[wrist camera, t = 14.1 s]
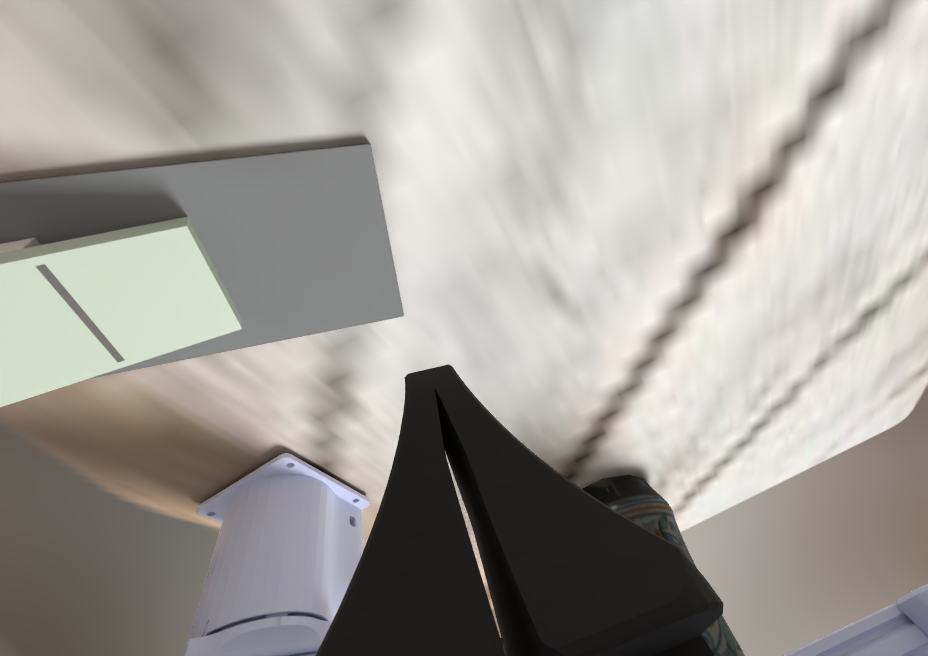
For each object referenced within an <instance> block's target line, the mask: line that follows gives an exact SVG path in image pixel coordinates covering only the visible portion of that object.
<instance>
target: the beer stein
mask: <svg viewBox="0 0 928 656" xmlns="http://www.w3.org/2000/svg"><path fill="white" fill-rule="evenodd" d="M582 490H584V491H585V492H587V493H588V494H590V495H591V496H593V497H594V498H596V499H597V500H598V501H600V502H602V503H603V504H605V505H606V506H608V507H610V508H611V509H613V510H614V511H616V512H618V513H619V514H621V515H622V516H624V517H626V518H627V519H629V520H631V521H633V522H634V523H636V524H638V525H639V526H641V527H643V528H645V529H646V530H648V531H650V532H652V533H653V534H655V535H657V536H659V537H661V538H662V539H664V540H666V541H668V542H670V543H671V544H673V545H675V546H677V547H678V548H679V549H680V550H681V551H682V552H683V553H684V555H685V556H686V557H687V558H688V559H689V560H690V561H691V563H692V564H693V565H694V566H695V564H694V562H693V560H692V558H691V556H690V553H689V552H688V549H687V547H686V545H685V543H684V541H683V539H682V536H681V534H680V531H679V529H678V526H677V524H676V521H675V518H674V514H673V511H672V509H671V507H670V506H669V504H668V503H667V502H666V501H665V500H664V499H663V498H662V497H661V496H660V495H659V494H658V493H657V492H656V491H655V490H653V489H652V488H651V487H650V485H649V484H648V483H647V482H646V481H645V480H644V479H642V478H638V477H635V476H631V475H625V476H619V477H612V478H606V479H602V480H600V481H598V482H596V483H594V484H592V485H590V486H588V487H586V488H584V489H582ZM695 567H696V566H695ZM701 635H702V636H703V638H704V639H705V641H706V642H707V644H708V646H709V647H710V649H711V650H712V652H713V653H714V656H745V655H744V654H743V652H742V649H741V648H740V646H739V644H738V642H737V641H736V639H735V637H734V636H733V634H732V632H731V630H730V628H729V627H728V625H727V623H726V621H725V619H724V618H723V616H722V615H721V616H720V617H719V618H718V619H717V620H716V621H715V622H714V623H713V624H712V625H711V626H710V627H709V628H707V629H706V630H705V631H704V632H703V633H702V634H701Z"/></svg>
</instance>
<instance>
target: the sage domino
mask: <svg viewBox="0 0 928 656" xmlns="http://www.w3.org/2000/svg"><path fill="white" fill-rule="evenodd" d="M240 329H242V325H241V319H240V314H239V312H238V310H237V308H236V306H235V304H234V303H233V301H232V299H231V297H230V295H229V293H228V291H227V289H226V287H225V286H224V284H223V282H222V280H221V278H220V276H219V274H218V272H217V270H216V269H215V267H214V265H213V263H212V261H211V259H210V257H209V255H208V253H207V251H206V250H205V248H204V246H203V244H202V242H201V240H200V238H199V236H198V234H197V233H196V231H195V229H194V227H193V225H192V223H191V221H190V219H189V217H188V216H187V217H182V218H177V219H172V220H167V221H162V222H157V223H152V224H147V225H142V226H136V227H131V228H126V229H121V230H116V231H111V232H106V233H101V234H96V235H90V236H85V237H80V238H75V239H70V240H65V241H60V242H55V243H50V244H44V245H39V246H34V247H29V248H24V249H19V250H14V251H9V252H4V253H0V407H3V406H6V405H9V404H12V403H15V402H18V401H21V400H24V399H28V398H31V397H34V396H37V395H40V394H43V393H46V392H49V391H52V390H55V389H58V388H61V387H64V386H68V385H71V384H74V383H77V382H80V381H83V380H86V379H89V378H92V377H95V376H98V375H101V374H105V373H108V372H111V371H114V370H117V369H120V368H123V367H126V366H129V365H132V364H135V363H138V362H141V361H145V360H148V359H151V358H154V357H157V356H160V355H163V354H166V353H169V352H172V351H175V350H178V349H181V348H185V347H188V346H191V345H194V344H197V343H200V342H203V341H206V340H209V339H212V338H215V337H218V336H222V335H225V334H228V333H231V332H234V331H237V330H240Z"/></svg>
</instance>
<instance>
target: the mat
mask: <svg viewBox="0 0 928 656" xmlns="http://www.w3.org/2000/svg"><path fill="white" fill-rule="evenodd" d="M187 216H188V217H189V219H190V221H191V223H192V225H193V227H194V229H195V231H196V233H197V234H198V236H199V238H200V240H201V242H202V244H203V246H204V248H205V250H206V251H207V253H208V255H209V257H210V259H211V261H212V263H213V265H214V267H215V269H216V270H217V272H218V274H219V276H220V278H221V280H222V282H223V284H224V286H225V287H226V289H227V291H228V293H229V295H230V297H231V299H232V301H233V303H234V304H235V306H236V308H237V310H238V312H239V314H240V319H241V325H242V329H240V330H237V331H234V332H231V333H228V334H225V335H222V336H218V337H215V338H212V339H209V340H206V341H203V342H200V343H197V344H194V345H191V346H188V347H185V348H181V349H178V350H175V351H172V352H169V353H166V354H163V355H160V356H157V357H154V358H151V359H148V360H145V361H141V362H138V363H135V364H132V365H129V366H126V367H123V368H120V369H117V370H114V371H111V372H108V373H105V374H101V375H98V376H95V377H100V376H105V375H110V374H115V373H120V372H125V371H130V370H135V369H140V368H145V367H150V366H155V365H160V364H165V363H170V362H175V361H180V360H185V359H190V358H195V357H200V356H206V355H211V354H216V353H221V352H226V351H231V350H236V349H241V348H246V347H251V346H256V345H261V344H266V343H271V342H276V341H281V340H286V339H291V338H296V337H301V336H306V335H311V334H316V333H321V332H327V331H332V330H337V329H342V328H347V327H352V326H357V325H362V324H367V323H372V322H377V321H382V320H387V319H392V318H397V317H402V316H404V313H403V308H402V303H401V298H400V293H399V287H398V282H397V277H396V272H395V267H394V262H393V257H392V252H391V246H390V241H389V236H388V231H387V226H386V221H385V216H384V211H383V205H382V200H381V195H380V190H379V185H378V180H377V175H376V170H375V164H374V159H373V154H372V149H371V144H370V143H368V144H359V145H349V146H340V147H330V148H321V149H311V150H302V151H293V152H283V153H274V154H264V155H255V156H245V157H236V158H227V159H217V160H208V161H198V162H189V163H179V164H170V165H160V166H151V167H142V168H132V169H123V170H113V171H104V172H94V173H85V174H76V175H66V176H57V177H47V178H38V179H28V180H19V181H9V182H0V244H3V243H8V242H13V241H19V240H24V239H30V238H36V239H37V240H38V241H39V243H40V244H41V245H44V244H50V243H55V242H60V241H65V240H70V239H75V238H80V237H85V236H90V235H96V234H101V233H106V232H111V231H116V230H121V229H126V228H131V227H136V226H142V225H147V224H152V223H157V222H162V221H167V220H172V219H177V218H182V217H187ZM95 377H92V378H95ZM89 379H90V378H89Z"/></svg>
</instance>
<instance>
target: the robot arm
mask: <svg viewBox="0 0 928 656" xmlns="http://www.w3.org/2000/svg"><path fill="white" fill-rule="evenodd" d="M445 452H446V454H447V457H448V460H449V463H450V466H451V468H452V471H453V474H454V477H455V479H456V482H457V485H458V488H459V491H460V493H461V496H462V499H463V502H464V504H465V507H466V510H467V513H468V515H469V518H470V522H471V525H472V528H473V531H474V534H475V538H476V542H477V546H478V549H479V553H480V557H481V561H482V564H483V568H484V572H485V576H486V579H487V583H488V587H489V591H490V595H491V599H492V602H493V606H494V610H495V614H496V618H497V622H498V626H499V629H500V633H501V637H502V641H503V645H504V648H503V645H502V642H501V639H500V636H499V633H498V629H497V626H496V623H495V620H494V616H493V613H492V610H491V607H490V604H489V600H488V597H487V594H486V591H485V587H484V584H483V581H482V578H481V575H480V571H479V568H478V565H477V561H476V558H475V555H474V551H473V548H472V545H471V541H470V538H469V535H468V531H467V528H466V525H465V521H464V518H463V514H462V511H461V508H460V504H459V501H458V497H457V494H456V490H455V487H454V483H453V480H452V476H451V473H450V469H449V466H448V462H447V459H446V454H445ZM369 504H370V499H369V498H367V497H366V496H364V495H362V494H360V493H359V492H357V491H355V490H353V489H351V488H350V487H348V486H346V485H344V484H343V483H341V482H339V481H337V480H336V479H334V478H332V477H330V476H329V475H327V474H325V473H323V472H321V471H320V470H318V469H316V468H314V467H313V466H311V465H309V464H307V463H306V462H304V461H302V460H300V459H298V458H297V457H295V456H293V455H291V454H289V453H283V454H281V455H279V456H277V457H276V458H274V459H272V460H271V461H269V462H268V463H266V464H264V465H263V466H261V467H260V468H258V469H256V470H255V471H253V472H251V473H250V474H248V475H247V476H245V477H243V478H242V479H240V480H239V481H237V482H235V483H234V484H232V485H230V486H229V487H227V488H226V489H224V490H222V491H221V492H219V493H218V494H216V495H214V496H213V497H211V498H210V499H208V500H206V501H205V502H203V503H201V504H200V505H199V506H198V508H197V511H196V512H197V514H199V515H201V516H204V517H207V518H210V519H213V520H216V521H218V522H221V523H222V526H221V529H220V533H219V536H218V540H217V543H216V547H215V550H214V553H213V557H212V561H211V564H210V567H209V571H208V574H207V577H206V581H205V585H204V588H203V591H202V595H201V598H200V602H199V605H198V609H197V612H196V615H195V619H194V622H193V626H192V629H191V633H190V636H189V640H188V643H187V645H186V648H185V650H184V653H183V655H182V656H714V653H713V652H712V650H711V649H710V647H709V646H708V644H707V642H706V641H705V639H704V638H703V636H702V635H701V634H702V633H703V632H704V631H705V630H706V629H707V628H709V627H710V626H711V625H712V624H713V623H714V622H715V621H716V620H717V619H718V618H719V617H720V616H721V615H722V614H723V602H722V601H721V599H720V598H719V597H718V595H717V594H716V593H715V591H714V590H713V589H712V587H711V586H710V584H709V583H708V582H707V580H706V579H705V578H704V577H703V575H702V574H701V573H700V572H699V571H698V569H697V568H696V567H695V566H694V565H693V564H692V563H691V561H690V560H689V559H688V558H687V557H686V556H685V555H684V553H683V552H682V551H681V550H680V549H679V548H678V547H677V546H675V545H673V544H671V543H670V542H668V541H666V540H664V539H662V538H661V537H659V536H657V535H655V534H653V533H652V532H650V531H648V530H646V529H645V528H643V527H641V526H639V525H638V524H636V523H634V522H633V521H631V520H629V519H627V518H626V517H624V516H622V515H621V514H619V513H618V512H616V511H614V510H613V509H611V508H610V507H608V506H606V505H605V504H603V503H602V502H600V501H598V500H597V499H596V498H594V497H593V496H591V495H590V494H588V493H587V492H585V491H584V490H582V489H581V488H580V487H578V486H577V485H575V484H574V483H572V482H571V481H569V480H568V479H566V478H565V477H564V476H562V475H561V474H559V473H558V472H557V471H556V470H554V469H553V468H552V467H550V466H549V465H548V464H546V463H545V462H544V461H543V460H541V459H540V458H539V457H538V456H536V455H535V454H534V453H533V452H532V451H530V450H529V449H528V448H527V447H526V446H524V445H523V444H522V443H521V442H520V441H519V440H518V439H517V438H515V437H514V436H513V435H512V434H511V433H510V432H509V431H508V430H507V429H506V428H505V427H504V426H503V425H502V424H501V423H500V422H499V421H498V420H497V419H496V418H495V417H494V416H493V415H492V414H491V413H490V412H489V411H488V410H487V409H486V408H485V407H484V406H483V405H482V404H481V403H480V401H479V400H478V399H477V398H476V397H475V396H474V395H473V393H472V392H471V391H470V390H469V389H468V387H467V386H466V385H465V384H464V382H463V381H462V380H461V378H460V377H459V376H458V374H457V373H456V371H455V370H454V368H453V367H452V366H450V365H445V366H440V367H436V368H431V369H427V370H423V371H418V372H414V373H410V374H407V376H406V377H405V404H404V412H403V418H402V424H401V430H400V436H399V441H398V445H397V449H396V453H395V457H394V461H393V466H392V469H391V473H390V476H389V480H388V483H387V487H386V490H385V493H384V496H383V499H382V502H381V505H380V508H379V511H378V514H377V516H376V519H375V522H374V525H373V527H372V530H371V533H370V536H369V538H368V541H367V543H366V546H365V548H364V551H363V544H362V513H361V510H362V509H364V508H366V507H367V506H369ZM504 649H505V651H504ZM505 653H506V655H505ZM783 656H928V584H926V585H924V586H922V587H920V588H918V589H916V590H914V591H912V592H910V593H908V594H906V595H904V596H903V597H901V598H899V599H898V600H896V603H894V604H892V605H890V606H887V607H885V608H883V609H881V610H879V611H877V612H875V613H873V614H870V615H868V616H866V617H864V618H862V619H860V620H858V621H856V622H854V623H852V624H849V625H847V626H845V627H843V628H841V629H839V630H836V631H834V632H832V633H830V634H828V635H826V636H824V637H822V638H819V639H817V640H815V641H813V642H811V643H809V644H807V645H804V646H802V647H800V648H798V649H796V650H794V651H792V652H790V653H787V654H785V655H783Z"/></svg>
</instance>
